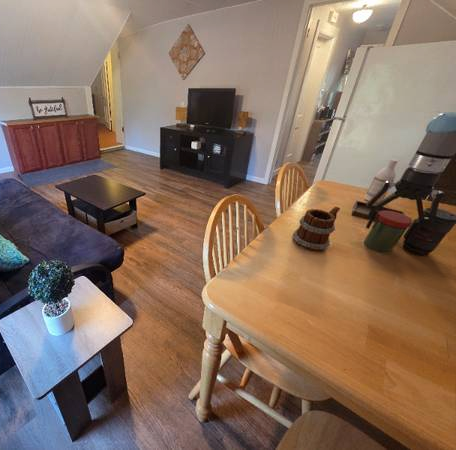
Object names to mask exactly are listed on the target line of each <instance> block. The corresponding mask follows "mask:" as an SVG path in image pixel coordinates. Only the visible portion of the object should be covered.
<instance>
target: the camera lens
mask: <svg viewBox="0 0 456 450" xmlns="http://www.w3.org/2000/svg"><path fill="white" fill-rule="evenodd" d="M423 211H424V217H428V215H429V211H430V207H427V208H424V209H423ZM417 219H418V220H419V216H418V217H417ZM455 225H456V214H455V213H453V212H451V211H448V210H444V209H441V208H438V209H437V213H436V217H435V221H434V223H425V224H423V225H422V226H421V228H420V229H419V230H418V231H413V232H412V233H411V235H410V236H409V238H408V239H404V238H403V239H404V240H403V241H402V243H403V244H402V246H401V247H402V248H403V249H404V250H405V251H406V252H408V253H410V254H413V255H415V256H416V255H417V256H422V257H425V256H428V255H429V254H430V253H433V251H434V250H436V248H438V247H439V245H440V243H441V242H442V240H444V238H445V237H446V235H447V234H449V233H450V231H451V230H452V229H453V228H454V227H455Z"/></svg>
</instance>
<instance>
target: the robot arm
mask: <svg viewBox="0 0 456 450" xmlns="http://www.w3.org/2000/svg"><path fill="white" fill-rule="evenodd" d="M425 128H426V129H425V135H424V137H423V139H422V140H421V142H420V144H419V146H418V148H417V149H416V152H415V153H414V154H413V157H412V158H411V160H410V161H409V163H408V167H407V168H405V170H404V172H403V174H402V175H401V177H400V179H399V180H398V181H397V182H395V181H393V182H389V181H385V183H384V185H383V187H382V188H381V189H380V190H379V191H378V192H377V193H376V194H375V195H374V196H373V197H372V198H371V199H370V200H369V201H368V200H367V202H366V203H367V204H366V207H367V208H369V209H370V212H369V214H368V216H367V218H368V219H367V220H368V221H367V224H366V226H365V229H368V230H370V227H372V224H373V222H374V221H373V220H374V218H375V217H376V215H377V213H378V209H379V208H381V207H385V206H387V205H388V204H389V203H391V202H393V201H394V200H397V199H399V198H401V199H408V200H411V201H415V202H416V208H417V215H418V217H419V220H418V218H414V219H413V220H412V223H411V225H410V226H409V227H408V228H407V229H406V231H405V232H404V234H403V239H408V238H409V236H410V235H411V233H412V232H413V231H418V230H419V229H420V228H421V226H422V225H423V224H425V223H434V221H435V217H436V213H437V209H439V206H440V201H441V200H442V199H443V198H444V196H445V193H444V191H443V190H436V189H433V188H434V186H435V184H436V183H437V181H438V180H439V179H440V177H441V173H442V172H444V170H445V169H446V167H447V166H448V164H449V163H450V162H451V160H452V158H453V157H454V156H455V155H456V112H455V111H454V112H453V111H447V112H441V113H439V114H438V115H437V116H435V117H434V118H432V119H431V120H430V121H429V122H428V124H427V125H426V127H425ZM393 187H394V188H395V191H393V192H392V193H391V194H389V195H388V196H385V197H384V199H383V200H381V201H380V202H378V203H375V202H376V201H377V200H378V199H379V198H380V197H381V196H382V195H383V194H384V193H385V192H386V191H387V189H389V190H390V189H392V188H393ZM428 195H431V198H432V200H431V203H430V207H429V208H430V211H429V215H428V217H424V205H423V198H424V197H426V196H428ZM369 219H370V220H369Z"/></svg>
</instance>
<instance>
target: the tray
mask: <svg viewBox="0 0 456 450" xmlns="http://www.w3.org/2000/svg"><path fill="white" fill-rule="evenodd" d="M366 204H367V202H363V201H359V200H355V201H354V203H353V208H352V211H351V216H354V217H357V218H362V219H366V220H368V221H369V220H370V219H368V218H367V216H368V214H369V212H370V209H369V208H367V207H366ZM384 210H386V211H394V212H398V213H401V214H404V215H405V211H402V210H398V209H394V208H389V207H385V206H383V207H381V208H379V209H378V213H379V212H380V211H384ZM378 213H377V215H378ZM377 215H376V217H375V218H374V220H373V222H375V221H376V219H377Z"/></svg>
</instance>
